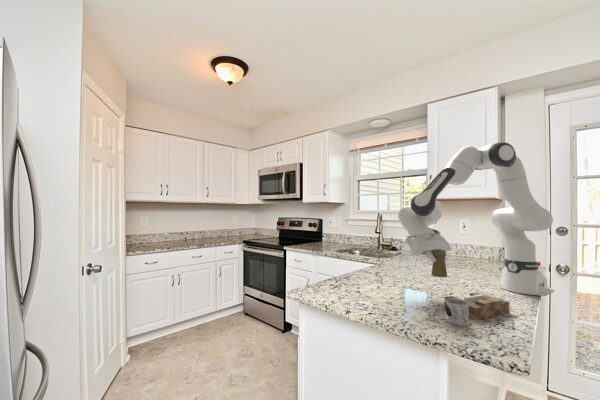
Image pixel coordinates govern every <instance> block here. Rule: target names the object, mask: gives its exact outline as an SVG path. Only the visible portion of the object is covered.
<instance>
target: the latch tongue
mask: <svg viewBox="0 0 600 400" xmlns="http://www.w3.org/2000/svg"><path fill="white" fill-rule="evenodd" d="M481 294H482V293H481ZM481 294H480V295H474V296H470V295H469V296H464V299H463V300H466V301H469V302H472V303H475V301H477V300H483V299H484V295H485V294H484V295H481Z"/></svg>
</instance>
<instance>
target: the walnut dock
mask: <svg viewBox="0 0 600 400" xmlns="http://www.w3.org/2000/svg"><path fill="white" fill-rule="evenodd" d="M480 294H481V295H484V299H483V300H477V301H475V303H472V302H469V301H466V300H464V299H463V298H460V297H456V296H453V295H449V296H444V301H445V300H446V299H450V298H451V299H459V300H463V301H466V302H468V303H469V318H470V319H472V320H475V321H478V320H483V319H488V318H494V317H497V316H502V315H506V314H508V315H509V314H510V301H507V300H504V299H500V298H497V297H494V296H491V295H487V294H483V293H480V292H477V291H476V292H469V296H474V295H480Z"/></svg>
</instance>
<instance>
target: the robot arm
mask: <svg viewBox="0 0 600 400" xmlns="http://www.w3.org/2000/svg"><path fill="white" fill-rule="evenodd" d="M491 169H492V170H493V171H494V172H495V176H496V182H497V188H498V192H499V196H500V198H501V199H503V200H505V201H506V202H508V204H509V205H510V207H502V208H499V209H495V210H494V211H493V212H492V215H491V222H492V224H493V225H494V226H495V227H496V228H497V229H498V230H499V231H500V234H501V236H502V238H503V241H504V251H505V253H504V254H505V255H504V256H505V257H504V261H503V263H504V264H503V265H504V268H502V270H501V277H500V282H498V286H499V287H501V289H503V290H505V291H509V292H513V293H517V294H522V295H523V294H524V295H532V296H541V297H542V296H543V297H547V296H549V295H550V294H553V293H555V289H554V288H551V287H548V278H547V277H546V276H545V275H544V274H543V273H541V272H540V270H539V267H541V265H542V264H541V261H537V258H536V256H537V255H536V244H535V243H534V242H533V241H532V240H530V239H529V238H528V236H527V235H526V232H533V233H534V232H542V231H547V230H549V229H550V228H551V227H552V225H553V222H554V217H553V215H552V213H551V212H550V211H549V210H547V209H546V208H544V207H543V206H542V205H541V204H539V203H538V201H536V199H535V198H534V196H533V195H532V193H531V190H530V187H529V181H528V179H527V174H526V170H525V168H524V165H523V162H522V160H521V158H520V157H519V156H517V154H516V150H515V148H514V147H513V145H512V144H510V143H509V142H506V141H505V142H501V141H500V142H496V143H491V144H487V145H485V146H483V147H480V148H477V147H474V146H473V145H472V146H471V145H468V146H464V147H462V148H461V149H460V150H458V152H456V154H455V155H454V156H453V157H452V158H451V159H450V161H449V162H448V163H447V165H446V166H445V167H444V168H443V169H442V168H441V170H440V171H439V172H438V173H437V174H436V175H435V176H434V177H433V178H432V179H431V181H430V182H429V183H428V184H427V185H426V186H425V187H424V188H423V190H421V191H420V192H418V193H417V194H415V196H413V198H411V201H410V205H406V206H403V207H402V208H401V209H400V210H399V211H398V215H397V217H398V220H399V222H400V223H401V225H402V227H403V228H404V231H405V230H406V231H407V233H408V235H407V236H406V237H405V241H406V242H407V245H408V247H409V249H410V251H411V253H412V254H413V255H415V256H425V257H426V258H428V259H429V260H431V262H432V263H433V262H437V261H438V259H437V258H436V257H434V256H433V254H432V252H433V250H435V249H441V250H444V251H445V252H446V254H447V253H449V252H450V251H451V249H452V247H451V245H450V244H449V242H448V241H447V239H445V237H444V236H443V235H441V232H440V231H439V230H437V229H433V228H431V227H430V226H431V225H433V224H436V223H437V222H438V221H439V220H440V219H441V217H442V211H441V209H440V207H439V206H438V204H437V198H438V197H439V196H440V194H441V193H442V192H443V191H444V189H445V188H446V187H447V186H448V185H453V186H461V185H463V184H465V182H467V181H468V180H469V179H470V177H471V176H472V174H473V173H474V171H475V170H476V171H482V170H491ZM447 260H448V258H447V256H445V262H447Z"/></svg>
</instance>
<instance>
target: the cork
mask: <svg viewBox="0 0 600 400" xmlns="http://www.w3.org/2000/svg"><path fill="white" fill-rule="evenodd" d="M432 255H433V256H434V257H436V258H437V259H438V261H437V262H432V266H431V267H432V269H431V276H433V277H435V278H448V272H447V265H446V261H445V257H447V253H446V252H445V251H444V250H441V249H435V250H433V252H432Z"/></svg>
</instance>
